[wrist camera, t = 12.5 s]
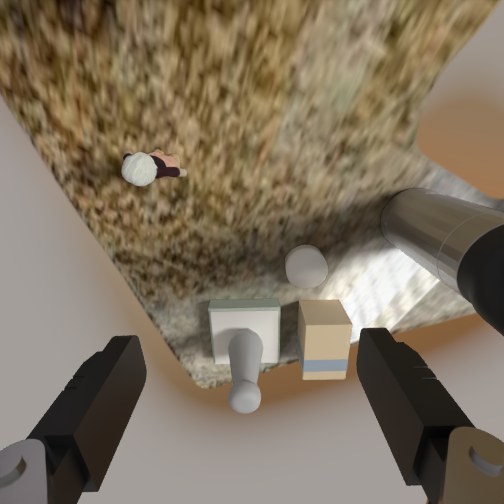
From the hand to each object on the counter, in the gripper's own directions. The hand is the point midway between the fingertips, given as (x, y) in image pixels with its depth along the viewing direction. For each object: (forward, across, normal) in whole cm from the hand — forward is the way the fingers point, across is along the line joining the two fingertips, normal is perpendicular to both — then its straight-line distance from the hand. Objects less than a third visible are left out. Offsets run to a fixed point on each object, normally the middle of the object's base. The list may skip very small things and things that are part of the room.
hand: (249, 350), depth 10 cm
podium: (+33, +2, +25) cm, 41 cm away
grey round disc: (+33, -8, +12) cm, 36 cm away
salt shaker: (+30, +2, +25) cm, 39 cm away
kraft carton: (+33, -11, +25) cm, 43 cm away
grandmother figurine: (+33, +12, -4) cm, 36 cm away
